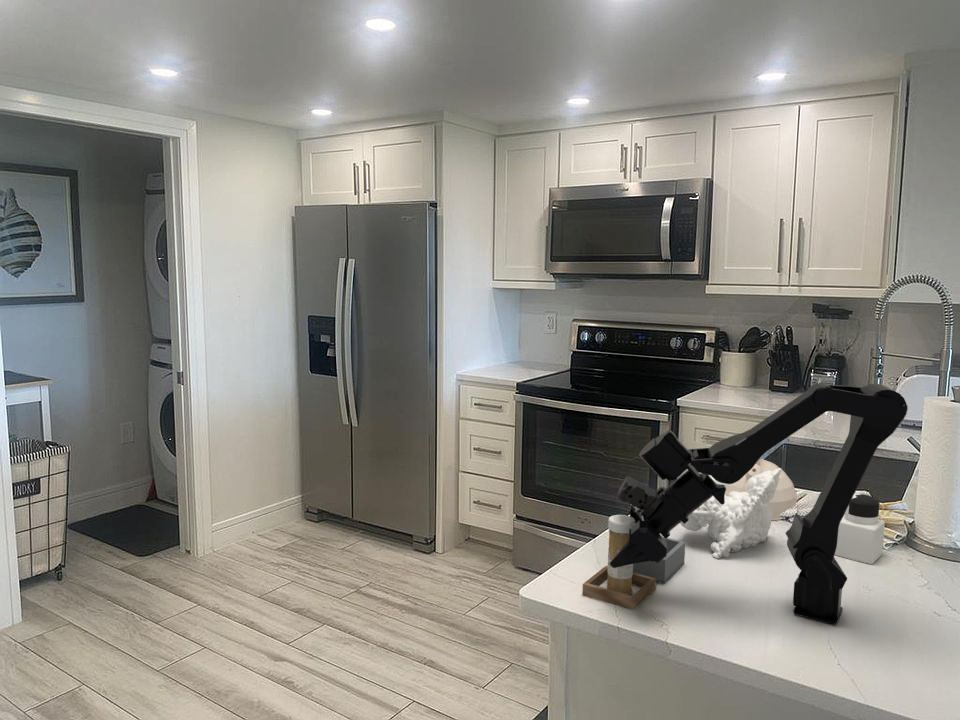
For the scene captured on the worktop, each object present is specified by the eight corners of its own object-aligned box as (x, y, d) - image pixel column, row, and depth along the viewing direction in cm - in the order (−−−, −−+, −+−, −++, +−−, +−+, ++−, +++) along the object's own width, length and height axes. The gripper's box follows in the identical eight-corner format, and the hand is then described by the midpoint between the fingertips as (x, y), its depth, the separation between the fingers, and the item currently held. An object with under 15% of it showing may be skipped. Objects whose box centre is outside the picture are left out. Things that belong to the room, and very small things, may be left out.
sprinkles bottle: (603, 586, 129) (605, 514, 127) (628, 585, 129) (630, 513, 127) (610, 598, 124) (612, 523, 122) (636, 597, 125) (638, 522, 123)
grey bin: (684, 564, 139) (685, 541, 138) (664, 584, 130) (665, 560, 129) (632, 551, 144) (633, 530, 144) (610, 569, 136) (610, 546, 135)
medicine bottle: (882, 554, 144) (887, 496, 142) (872, 565, 139) (877, 505, 137) (844, 545, 149) (848, 488, 147) (832, 555, 143) (837, 496, 142)
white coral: (789, 489, 156) (779, 459, 140) (782, 583, 149) (770, 562, 133) (700, 480, 165) (681, 451, 150) (690, 568, 158) (668, 547, 142)
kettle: (704, 515, 166) (708, 438, 164) (709, 489, 186) (713, 420, 183) (800, 527, 159) (805, 447, 157) (795, 499, 178) (800, 427, 176)
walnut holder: (655, 589, 128) (656, 578, 128) (634, 610, 120) (634, 598, 120) (605, 575, 133) (606, 565, 133) (582, 594, 125) (582, 584, 125)
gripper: (646, 450, 132) (584, 504, 136) (647, 480, 114) (575, 541, 117) (689, 495, 131) (626, 548, 135) (697, 532, 113) (623, 592, 117)
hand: (612, 555), depth 126 cm, fingers open, 8 cm apart
